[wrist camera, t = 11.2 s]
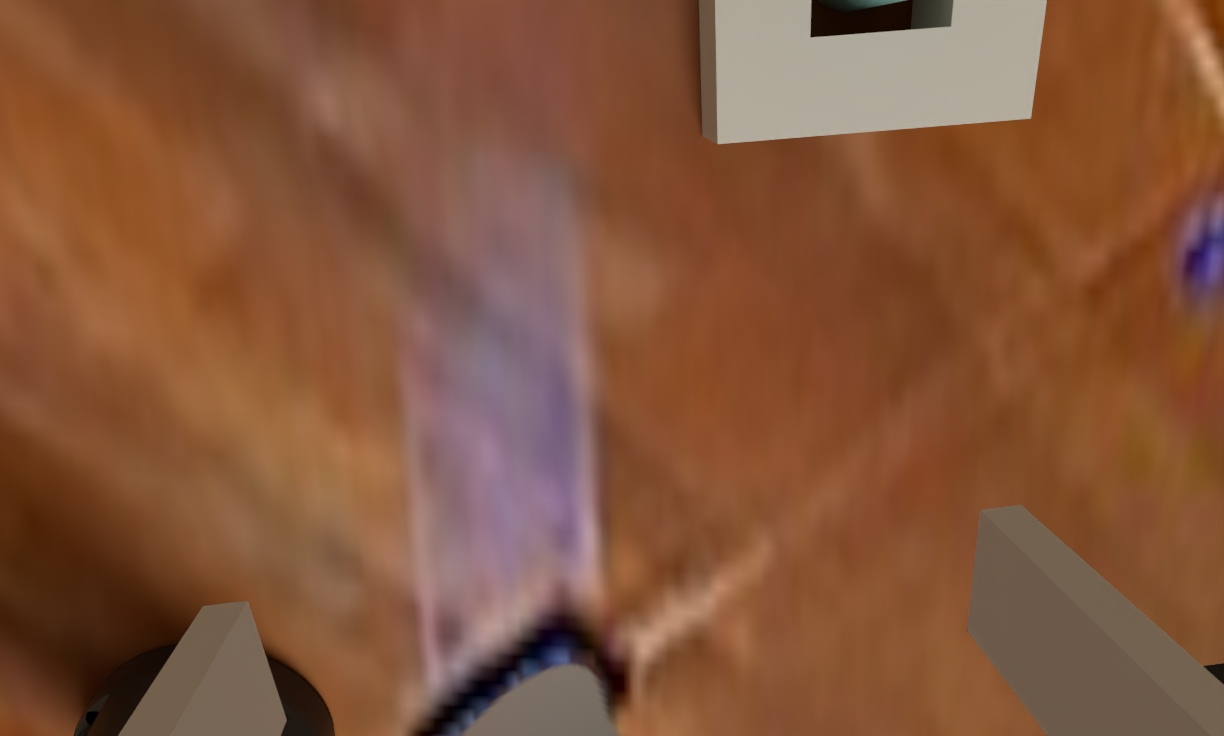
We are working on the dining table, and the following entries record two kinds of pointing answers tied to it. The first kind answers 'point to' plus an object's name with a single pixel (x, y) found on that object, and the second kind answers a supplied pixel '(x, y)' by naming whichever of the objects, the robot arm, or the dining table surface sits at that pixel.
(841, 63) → the socket block
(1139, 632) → the robot arm
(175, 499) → the dining table surface
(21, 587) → the dining table surface
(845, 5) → the peg
